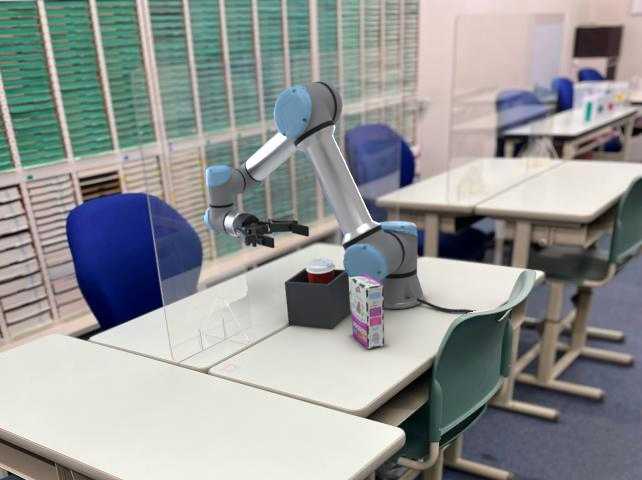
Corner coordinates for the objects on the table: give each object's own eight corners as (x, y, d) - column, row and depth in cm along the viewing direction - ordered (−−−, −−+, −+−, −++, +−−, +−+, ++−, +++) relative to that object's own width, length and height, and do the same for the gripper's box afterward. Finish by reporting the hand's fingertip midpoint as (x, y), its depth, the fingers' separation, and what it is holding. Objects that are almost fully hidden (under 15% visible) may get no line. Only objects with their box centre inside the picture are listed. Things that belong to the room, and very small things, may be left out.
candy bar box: (385, 346, 182) (384, 284, 173) (368, 350, 181) (365, 288, 172) (368, 332, 191) (366, 273, 182) (351, 335, 190) (349, 276, 181)
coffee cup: (343, 309, 205) (340, 260, 196) (326, 320, 200) (322, 270, 191) (321, 304, 209) (317, 255, 200) (304, 314, 204) (299, 265, 196)
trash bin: (350, 312, 205) (348, 270, 198) (331, 329, 195) (328, 285, 188) (309, 308, 211) (305, 267, 204) (288, 324, 201) (284, 282, 194)
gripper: (274, 228, 220) (322, 239, 207) (212, 248, 206) (259, 261, 193) (272, 203, 216) (321, 214, 203) (209, 222, 202) (256, 234, 189)
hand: (291, 237), depth 198 cm, fingers open, 13 cm apart
